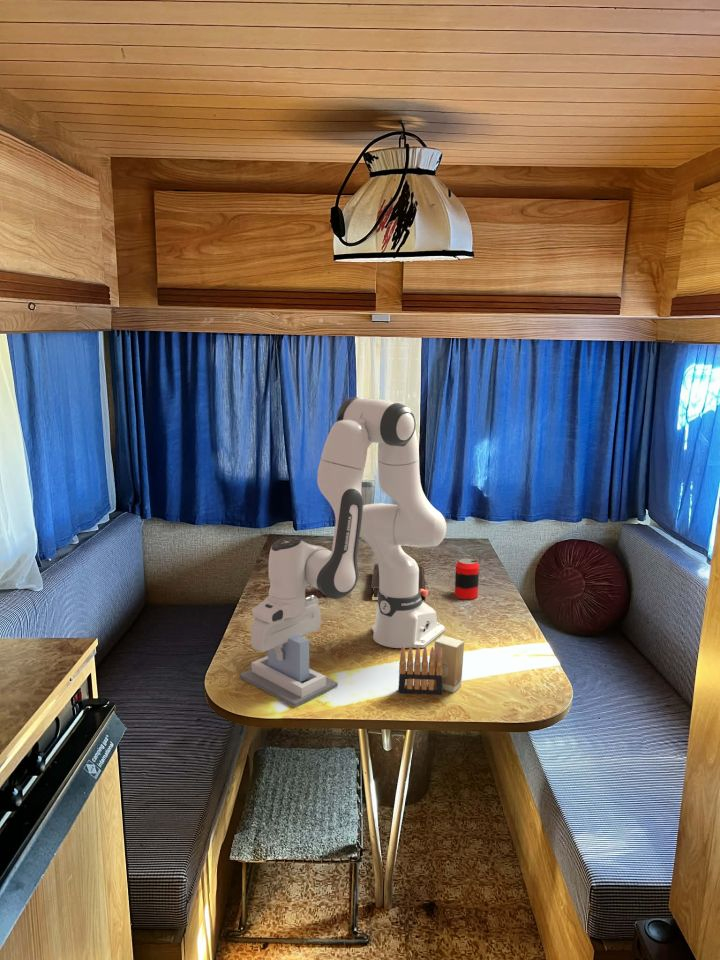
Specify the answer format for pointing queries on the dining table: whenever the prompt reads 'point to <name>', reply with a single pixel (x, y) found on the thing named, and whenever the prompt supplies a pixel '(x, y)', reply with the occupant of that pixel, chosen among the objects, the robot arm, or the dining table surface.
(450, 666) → the skincare box
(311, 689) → the track base
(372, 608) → the dining table surface
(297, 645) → the door panel
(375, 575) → the diary
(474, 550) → the dining table surface
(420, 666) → the ammunition clip
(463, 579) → the soda can
